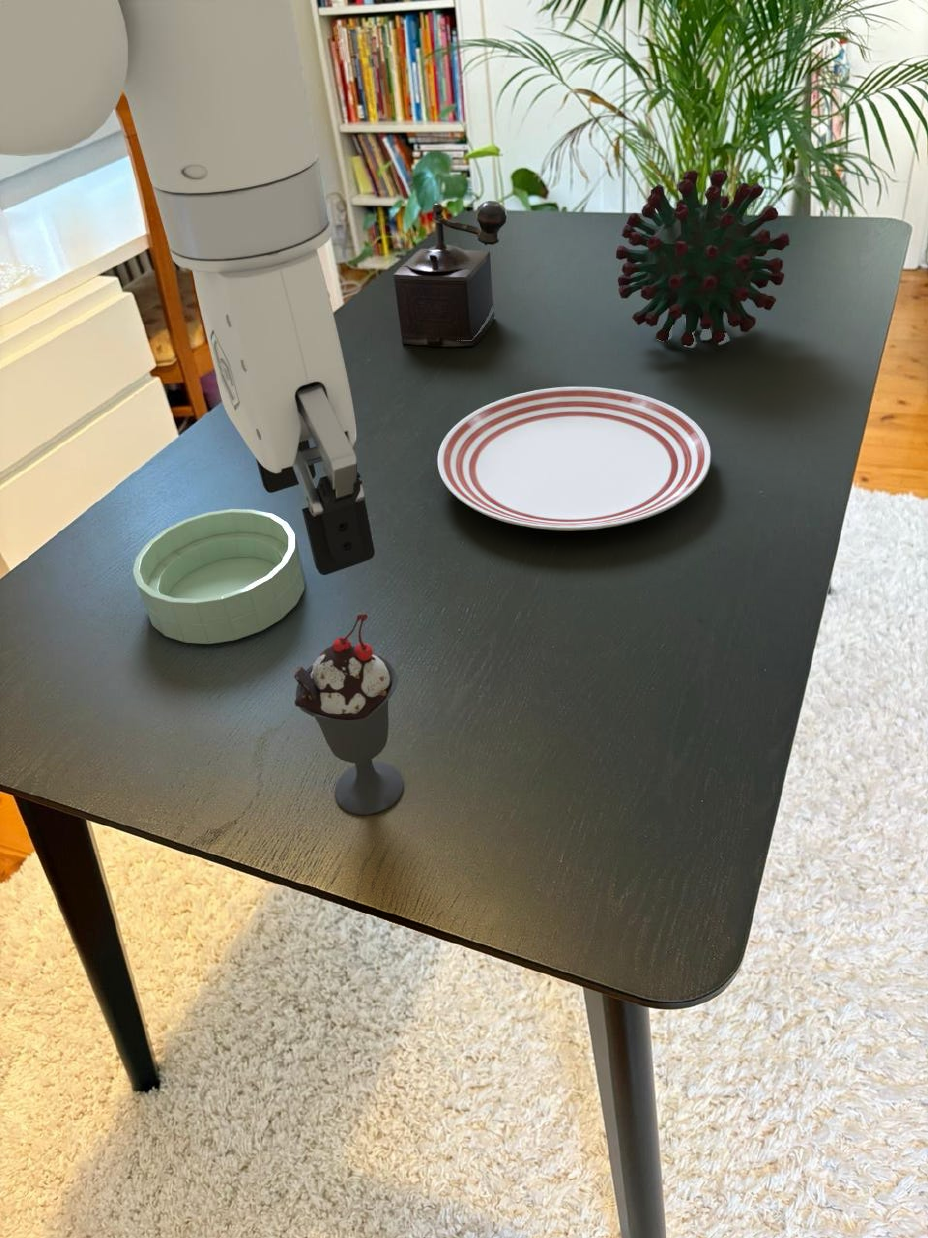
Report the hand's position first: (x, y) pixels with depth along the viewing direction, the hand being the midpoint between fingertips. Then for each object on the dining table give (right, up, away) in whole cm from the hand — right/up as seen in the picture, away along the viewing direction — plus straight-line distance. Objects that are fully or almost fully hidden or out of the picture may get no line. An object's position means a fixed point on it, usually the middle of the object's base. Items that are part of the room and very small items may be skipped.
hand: (316, 521), depth 56 cm
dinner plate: (+20, +9, +45) cm, 50 cm away
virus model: (+38, +30, +68) cm, 83 cm away
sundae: (+2, -18, +14) cm, 23 cm away
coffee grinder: (+9, +33, +76) cm, 83 cm away
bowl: (-13, -4, +34) cm, 36 cm away
